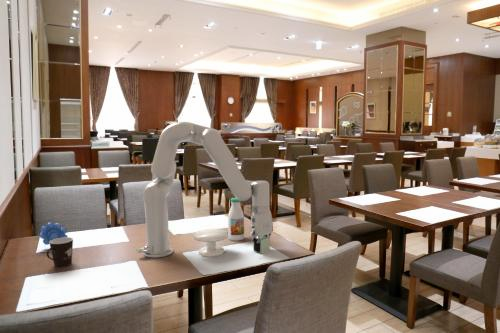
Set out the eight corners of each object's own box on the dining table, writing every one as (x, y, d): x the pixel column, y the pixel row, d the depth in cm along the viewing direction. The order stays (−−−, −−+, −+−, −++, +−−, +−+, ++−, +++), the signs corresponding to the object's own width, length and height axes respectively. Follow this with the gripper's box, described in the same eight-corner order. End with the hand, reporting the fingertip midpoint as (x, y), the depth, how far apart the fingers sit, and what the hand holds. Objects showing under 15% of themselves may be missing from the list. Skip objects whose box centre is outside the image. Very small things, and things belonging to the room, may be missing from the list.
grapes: (40, 252, 173) (38, 226, 171) (40, 248, 178) (38, 222, 177) (69, 247, 178) (67, 222, 177) (67, 243, 184) (66, 219, 183)
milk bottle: (225, 239, 186) (224, 199, 184) (233, 235, 193) (232, 196, 190) (239, 241, 182) (238, 200, 180) (247, 237, 189) (246, 197, 187)
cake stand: (209, 261, 158) (208, 241, 157) (187, 253, 168) (186, 234, 167) (235, 252, 169) (235, 233, 168) (213, 244, 179) (212, 227, 178)
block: (261, 253, 166) (261, 240, 165) (253, 250, 169) (253, 237, 169) (269, 250, 170) (269, 237, 169) (261, 248, 173) (260, 235, 172)
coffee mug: (68, 258, 163) (66, 236, 162) (78, 263, 158) (76, 239, 157) (39, 267, 154) (37, 243, 153) (49, 272, 149) (47, 247, 148)
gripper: (253, 214, 159) (254, 256, 161) (280, 207, 171) (280, 246, 173) (241, 211, 164) (241, 252, 166) (267, 204, 176) (267, 243, 178)
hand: (261, 249), depth 169 cm, fingers closed on block, 5 cm apart
